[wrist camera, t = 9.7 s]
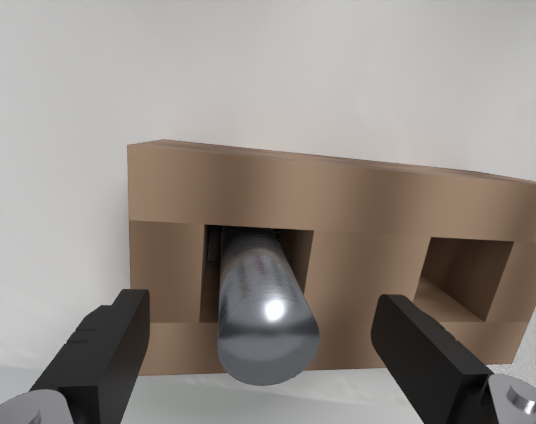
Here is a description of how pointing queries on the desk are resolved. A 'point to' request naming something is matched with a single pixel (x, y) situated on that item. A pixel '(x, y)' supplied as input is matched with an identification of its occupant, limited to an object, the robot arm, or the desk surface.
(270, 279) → the pin
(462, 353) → the robot arm
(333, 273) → the hole block
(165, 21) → the desk surface
